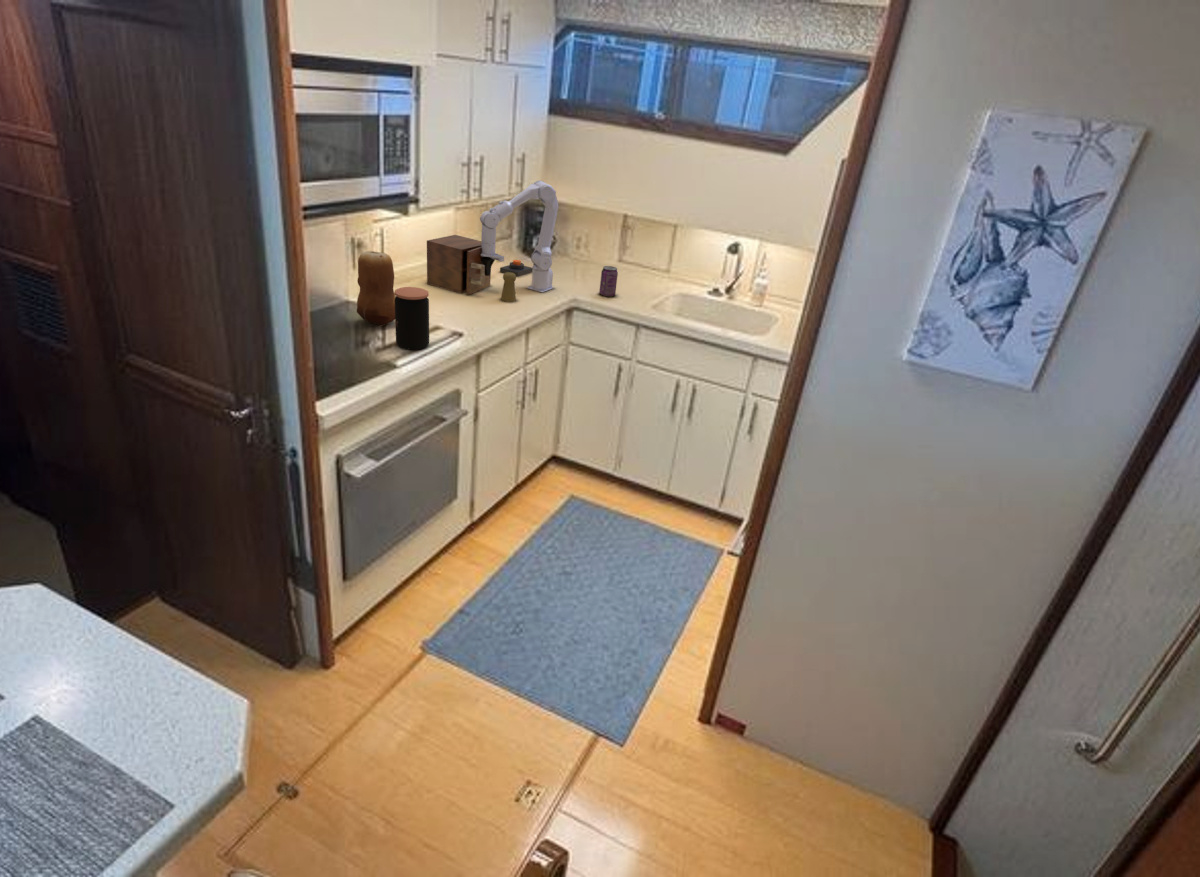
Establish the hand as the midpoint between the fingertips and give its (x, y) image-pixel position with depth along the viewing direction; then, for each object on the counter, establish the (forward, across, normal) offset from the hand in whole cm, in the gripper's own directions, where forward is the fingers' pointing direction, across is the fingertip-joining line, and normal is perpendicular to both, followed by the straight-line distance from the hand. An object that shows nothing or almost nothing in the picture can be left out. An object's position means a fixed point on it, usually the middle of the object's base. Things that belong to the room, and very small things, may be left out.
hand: (487, 275), depth 287 cm
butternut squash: (+7, -2, -61) cm, 61 cm away
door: (+6, +1, -2) cm, 7 cm away
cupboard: (+6, -13, -3) cm, 15 cm away
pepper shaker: (+6, +14, -4) cm, 16 cm away
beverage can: (+7, +39, +35) cm, 53 cm away
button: (+3, -8, +33) cm, 34 cm away
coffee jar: (+7, +20, -68) cm, 71 cm away
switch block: (+6, -8, +33) cm, 35 cm away
